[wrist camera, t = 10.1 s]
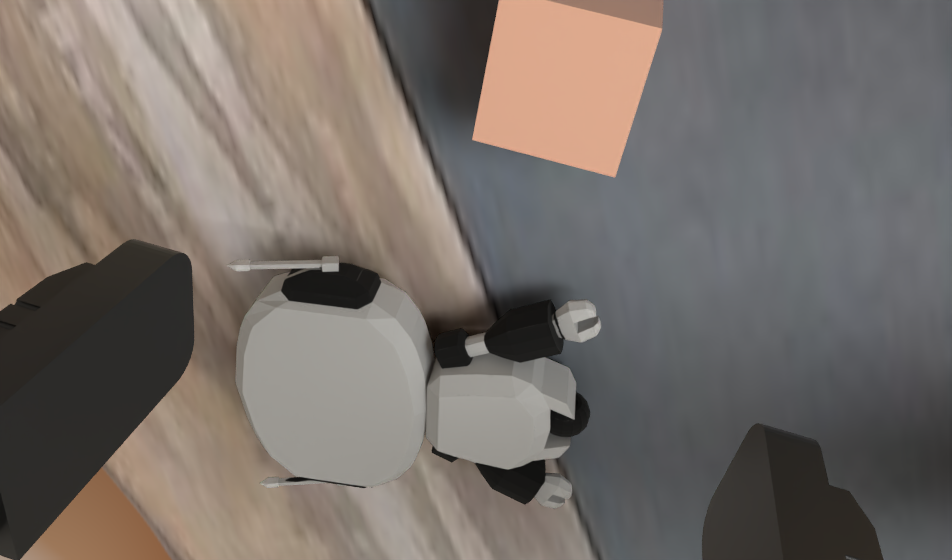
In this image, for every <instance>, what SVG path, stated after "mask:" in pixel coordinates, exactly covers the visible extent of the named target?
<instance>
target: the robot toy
mask: <svg viewBox="0 0 952 560" xmlns="http://www.w3.org/2000/svg"><path fill="white" fill-rule="evenodd" d="M227 266H228V267H229V268H231V269H233V270H235V271H250V269H292V270H291V271H290V272H287V273H284V274H280V275H276V276H274V277H273V278H272V279H271V281H270V282H269V283H268V285H267V286H266V287H265V288H264V290H263V291H262V292H261V294H260V295H259V297H258V298H257V299H256V301H255V302H254V304H253V305H252V306H251V308H250V309H249V311H248V312H247V314H246V315H245V316H244V319H243V322H242V324H241V327H240V332H239V337H238V342H237V352H236V379H235V383H236V386H237V389H238V392H239V395H240V398H241V400H242V403H243V406H244V409H245V412H246V415H247V418H248V420H249V422H250V424H251V426H252V428H253V430H254V432H255V434H256V436H257V438H258V439H259V441H260V443H261V444H262V446H263V447H264V448H265V450H266V451H267V452H268V453H269V455H270V456H271V457H272V458H274V459H275V460H276V461H277V462H278V463H280V464H281V465H282V466H283V467H285V468H286V469H287V470H288V471H289V472H291V473H292V474H293V475H294V476H297V477H294V478H279V477H268V478H266V479H265V480H263V481H262V482H260V484H262V485H263V486H265V487H267V488H274V487H278V486H283V485H301V484H320V483H333V484H337V485H338V486H345V485H346V486H353V487H360V488H366V487H371V488H372V487H375V486H378V485H381V484H384V483H387V482H390V481H392V480H395V479H397V478H398V477H400V476H401V475H402V474H403V473H404V472H406V471H407V470H408V469H409V468H410V467H411V465H412V464H413V462H414V461H415V459H416V457H417V454H418V452H419V450H420V447H421V445H422V442H423V438H424V435H425V431H426V438H427V439H428V440H429V441H430V443H431V444H432V445H433V447H432V453H434V454H436V455H438V456H440V457H442V458H444V459H446V460H448V461H450V462H453V461H455V460H456V459H458V458H462V459H465V460H469V461H471V462H473V463H475V464H476V466H477V467H478V469H479V470H480V472H481V474H482V475H483V477H484V478H485V479H486V481H487V482H488V484H489V485H490V487H491V488H492V489H494V490H496V491H498V492H500V493H502V494H504V495H506V496H508V497H510V498H512V499H514V500H516V501H518V502H521V503H523V504H527V503H528V502H530V501H531V500H532V499H533V498H534V497H535V498H536V500H537V501H538V502H539V503H540V505H542V506H546V507H549V508H553V509H555V508H558V507H561V506H562V505H563V504H564V503H565V499H569V498H570V497H571V495H572V485H571V483H570V482H569V481H568V480H567V479H566V478H564V477H563V476H562V475H561V474H557V473H545V470H546V469H545V459H552V458H559V457H560V456H561V455H562V454H563V453H564V452H565V451H566V450H567V449H568V448H569V447H570V440H571V436H574V435H577V434H579V433H580V432H581V431H583V430H584V429H585V428H586V426H587V423H588V420H589V417H590V410H589V406H588V403H587V401H586V400H585V399H584V398H583V396H582V395H580V394H579V393H577V392H576V381H575V379H574V377H573V375H572V373H571V371H570V368H568V367H566V366H564V365H562V364H559V363H557V362H555V361H552V360H550V359H548V358H546V357H548V356H552V355H557V354H561V352H562V349H563V339H565V340H570V341H576V342H581V343H582V342H584V341H586V340H588V339H591V338H593V337H595V336H597V335H598V333H599V331H600V328H601V322H600V319H599V316H597V317H596V308H595V306H594V304H592V303H591V302H590V301H588V300H570V301H568V302H567V303H566V304H565V305H563V306H562V307H561V308H559V309H558V310H557V311H556V309H555V307H554V305H553V303H552V302H551V300H547V301H543V302H539V303H535V304H531V305H527V306H523V307H519V308H515V309H511V310H509V311H508V312H507V313H506V314H505V315H504V316H503V317H501V318H500V319H499V320H498V321H497V322H496V323H495V324H494V325H493V326H492V327H491V328H490V329H489V330H488V331H487V332H485V333H481V334H477V335H473V336H468V334H467V333H466V332H465V331H464V330H463V329H462V328H461V329H457V330H453V331H449V332H445V333H441V334H439V336H438V337H437V339H436V342H435V350H434V351H435V354H436V359H435V358H434V352H433V346H432V341H431V338H430V335H429V332H428V329H427V325H426V322H425V320H424V318H423V316H422V314H421V312H420V310H419V309H418V308H417V306H416V305H415V304H414V302H413V301H412V300H411V298H410V297H409V296H408V295H407V293H406V292H405V291H403V290H401V289H400V288H398V287H397V286H395V285H394V284H392V283H391V282H389V281H388V280H386V279H383V278H379V276H378V274H377V273H375V272H373V271H371V270H368V269H364V268H360V267H357V266H355V265H353V264H347V263H339V256H323V257H322V260H291V261H250V260H236V261H234V262H232V263H230V264H228V265H227Z"/></svg>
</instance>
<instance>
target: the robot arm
mask: <svg viewBox="0 0 952 560" xmlns="http://www.w3.org/2000/svg"><path fill="white" fill-rule="evenodd" d="M193 346H194V315H193V286H192V266H191V261H190V259H189V257H188V256H187V255H186V254H184V253H181V252H177V251H174V250H171V249H167V248H164V247H160V246H157V245H154V244H150V243H147V242H143V241H140V240H136V239H133V240H129V241H126V242H125V243H123V244H122V245H121V246H119V247H118V248H117V249H115V250H114V251H113V252H112V253H110V254H109V255H108V256H106V257H105V258H104V259H102V260H101V261H100V262H99V263H97V264H96V265H93V264H90V263H87V262H86V263H84V264H81V265H78V266H76V267H73V268H70V269H68V270H65V271H62V272H60V273H57V274H54V275H52V276H49V277H47V278H45V279H44V280H43V281H41V282H40V283H38V284H37V285H36V286H34V287H33V288H32V289H30V290H29V291H28V292H26V293H25V294H23V295H22V296H21V297H19V298H18V299H17V301H16V304H15V305H12V304H10V305H8V306H7V307H6V308H4V309H3V310H2V311H0V555H1V556H4V557H7V558H10V559H13V560H20V559H21V558H22V557H23V555H24V554H25V553H26V552H27V551H28V550H29V549H30V548H31V547H32V545H33V544H34V543H35V542H36V541H37V540H38V539H39V537H40V536H41V535H42V534H43V533H44V532H45V531H46V530H47V528H48V527H49V526H50V525H51V524H52V523H53V522H54V520H55V519H56V518H57V517H58V516H59V515H60V514H61V513H62V511H63V510H64V509H65V508H66V507H67V506H68V505H69V503H70V502H71V501H72V500H73V499H74V498H75V497H76V495H77V494H78V493H79V492H80V491H81V490H82V489H83V488H84V487H85V485H86V484H87V483H88V482H89V481H90V480H91V479H92V477H93V476H94V475H95V474H96V473H97V472H98V471H99V470H100V468H101V467H102V466H103V465H104V464H105V463H106V462H107V461H108V459H109V458H110V457H111V456H112V455H113V454H114V453H115V451H116V450H117V449H118V448H119V447H120V446H121V445H122V444H123V442H124V441H125V440H126V439H127V438H128V437H129V436H130V434H131V433H132V432H133V431H134V430H135V429H136V428H137V427H138V425H139V424H140V423H141V422H142V421H143V420H144V419H145V418H146V416H147V415H148V414H149V413H150V412H151V411H152V410H153V408H154V407H155V406H156V405H157V404H158V403H159V402H160V401H161V399H162V398H163V397H164V396H165V395H166V394H167V393H168V391H169V390H170V389H171V388H172V387H173V386H174V385H175V384H176V382H177V381H178V380H179V379H180V377H181V376H182V374H183V373H184V371H185V369H186V367H187V365H188V363H189V360H190V358H191V354H192V351H193ZM702 558H703V560H883V556H882V553H881V549H880V546H879V542H878V538H877V535H876V531H875V528H874V527H873V525H872V524H871V522H870V521H869V519H868V518H867V517H866V515H865V514H864V512H863V511H862V509H861V508H860V506H859V505H858V503H857V502H856V500H855V499H854V497H853V496H852V495H851V493H850V492H849V491H847V490H843V489H840V488H837V487H833V486H830V485H829V483H828V478H827V474H826V469H825V465H824V461H823V456H822V452H821V448H820V446H819V444H818V442H817V441H816V440H814V439H811V438H807V437H804V436H800V435H797V434H794V433H790V432H787V431H783V430H780V429H776V428H773V427H770V426H766V425H763V424H759V423H758V424H755V425H754V426H752V427H751V429H750V430H749V431H748V433H747V435H746V437H745V438H744V440H743V442H742V444H741V446H740V448H739V449H738V451H737V453H736V455H735V457H734V459H733V460H732V462H731V464H730V466H729V468H728V470H727V471H726V473H725V475H724V477H723V479H722V481H721V482H720V484H719V486H718V488H717V490H716V492H715V493H714V495H713V497H712V499H711V502H710V504H709V507H708V510H707V514H706V517H705V522H704V527H703V535H702Z"/></svg>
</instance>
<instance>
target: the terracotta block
mask: <svg viewBox="0 0 952 560" xmlns="http://www.w3.org/2000/svg"><path fill="white" fill-rule="evenodd" d="M662 23H663V0H499V3H498V8H497V13H496V18H495V24H494V29H493V34H492V39H491V44H490V50H489V55H488V60H487V65H486V70H485V76H484V81H483V86H482V91H481V96H480V102H479V107H478V112H477V117H476V122H475V128H474V133H473V138H472V140H475V141H478V142H482V143H486V144H490V145H494V146H497V147H501V148H505V149H509V150H513V151H516V152H520V153H524V154H528V155H532V156H535V157H539V158H543V159H547V160H551V161H554V162H558V163H562V164H566V165H570V166H573V167H577V168H581V169H585V170H589V171H593V172H596V173H600V174H604V175H608V176H612V177H615V176H616V173H617V170H618V167H619V163H620V160H621V157H622V154H623V151H624V148H625V145H626V141H627V138H628V135H629V132H630V129H631V126H632V122H633V119H634V116H635V113H636V110H637V107H638V104H639V100H640V97H641V94H642V91H643V88H644V85H645V82H646V78H647V75H648V72H649V69H650V66H651V63H652V60H653V56H654V53H655V50H656V47H657V44H658V41H659V37H660V34H661V31H662Z"/></svg>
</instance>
